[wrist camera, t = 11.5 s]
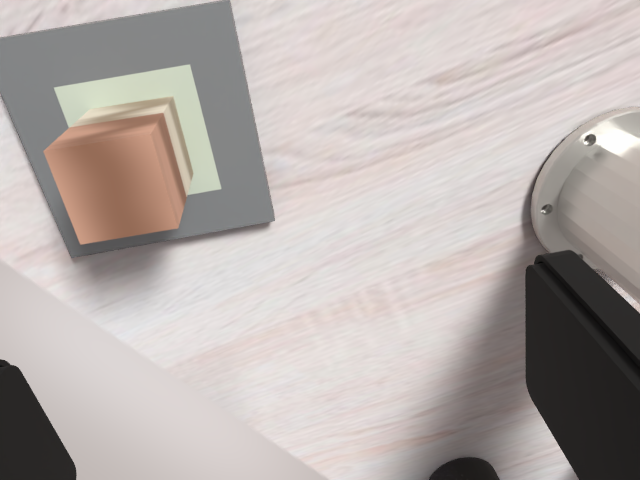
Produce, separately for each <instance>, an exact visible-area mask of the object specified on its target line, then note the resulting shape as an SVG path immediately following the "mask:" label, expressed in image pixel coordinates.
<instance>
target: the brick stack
mask: <svg viewBox="0 0 640 480" xmlns="http://www.w3.org/2000/svg"><path fill="white" fill-rule="evenodd" d="M43 152H44V154H45V157H46V159H47V162H48V164H49V167H50V169H51V172H52V174H53V177H54V180H55V182H56V185H57V187H58V190H59V192H60V195H61V197H62V200H63V202H64V205H65V207H66V210H67V212H68V215H69V217H70V220H71V222H72V225H73V227H74V230H75V232H76V235H77V237H78V240H79V242H80V245H81V244H87V243H93V242H99V241H105V240H111V239H117V238H123V237H129V236H135V235H141V234H147V233H153V232H159V231H165V230H171V229H177V228H179V224H180V220H181V217H182V213H183V210H184V206H185V202H186V199H187V195H188V192H189V188H190V184H191V181H192V177H193V174H194V173H193V169H192V166H191V162H190V158H189V154H188V150H187V146H186V143H185V139H184V135H183V131H182V127H181V123H180V120H179V116H178V112H177V108H176V104H175V100H174V97H173V96H170V97H163V98H157V99H151V100H144V101H138V102H132V103H125V104H119V105H112V106H106V107H100V108H93V109H89V110H88V111H87V112H86V113H85V114H84V115H83V116H82V117H81V118H79V119H78V120H77V121H76V122H75V123H74V124H73V125H72V126H71V127H69V128H68V129H67V130H66V131H65V132H64V133H63V134H62V135H61V136H59V137H58V138H57V139H56V140H55V141H54V142H53V143H52V144H51V145H49V146H48V147H47V148H46V149H45V150H44V151H43Z"/></svg>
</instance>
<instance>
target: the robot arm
mask: <svg viewBox="0 0 640 480" xmlns="http://www.w3.org/2000/svg"><path fill="white" fill-rule="evenodd" d="M530 211H531V220H532V225H533V228H534V231H535V234H536V236H537V238H538V239H539V241H540V242H541V244H542V245H543V247H544V248H545V249H546V250H547V251H548V252H549V254H544V255H538V256H537V257H536V259H535V261H534V265H529V266H528V267H527V268H526V384H527V388H528V392H529V394H530V397H531V399H532V401H533V402H534V404H535V406H536V407H537V409H538V411H539V412H540V414H541V416H542V418H543V419H544V421H545V423H546V424H547V426H548V428H549V429H550V431H551V433H552V434H553V436H554V438H555V439H556V441H557V443H558V445H559V446H560V448H561V450H562V451H563V453H564V455H565V456H566V458H567V460H568V461H569V463H570V465H571V466H572V468H573V470H574V472H575V473H576V475H577V477H578V478H579V480H640V313H639V312H638V311H637V310H635V309H634V308H633V307H632V306H631V305H630V304H629V303H628V302H627V301H626V300H625V299H624V298H623V297H622V296H621V295H620V294H619V293H617V292H616V291H615V290H614V289H613V288H612V287H611V286H610V285H609V284H608V283H607V282H606V281H605V280H604V279H603V278H602V277H601V276H599V275H598V274H597V273H596V272H595V271H594V269H600V270H602V271H603V272H604V273H605V274H606V275H607V276H608V277H609V278H611V279H612V280H613V281H614V282H615V283H616V284H617V285H619V286H620V287H621V288H622V289H623V290H624V291H625V292H626V293H628V294H629V295H630V296H631V297H632V298H633V299H634V300H636V301H637V302H638V303H639V304H640V107H629V108H623V109H618V110H614V111H611V112H608V113H605V114H603V115H600V116H598V117H596V118H594V119H592V120H590V121H589V122H587V123H585V124H583V125H582V126H580V127H579V128H578V129H576V130H575V131H574V132H573V133H571V134H570V135H569V136H567V137H566V139H565V140H564V141H563V142H562V143H561V144H560V145H559V146H558V147H557V148H556V149H555V150H554V151H553V153H552V154H551V156H550V157H549V158H548V160H547V161H546V163H545V164H544V166H543V168H542V170H541V172H540V174H539V176H538V178H537V180H536V183H535V187H534V190H533V194H532V200H531V210H530ZM0 480H76V468H75V465H74V462H73V461H72V459H71V457H70V455H69V454H68V452H67V450H66V449H65V447H64V445H63V443H62V442H61V440H60V438H59V436H58V435H57V433H56V431H55V429H54V428H53V426H52V424H51V423H50V421H49V419H48V417H47V416H46V414H45V412H44V411H43V409H42V407H41V405H40V403H39V402H38V400H37V398H36V397H35V395H34V393H33V391H32V390H31V388H30V386H29V384H28V383H27V381H26V379H25V378H24V376H23V374H22V372H21V371H20V369H19V368H18V367H16V366H14V365H10V364H9V363H8V362H7V361H5V360H0Z"/></svg>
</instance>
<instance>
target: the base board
mask: <svg viewBox="0 0 640 480" xmlns="http://www.w3.org/2000/svg"><path fill="white" fill-rule="evenodd" d="M0 93H1V95H2V97H3V100H4V102H5V104H6V107H7V109H8V111H9V114H10V116H11V118H12V121H13V123H14V125H15V128H16V130H17V132H18V135H19V137H20V139H21V141H22V144H23V146H24V148H25V151H26V153H27V155H28V158H29V160H30V162H31V165H32V167H33V169H34V172H35V174H36V176H37V179H38V181H39V183H40V186H41V188H42V190H43V193H44V195H45V197H46V200H47V202H48V204H49V207H50V209H51V211H52V214H53V216H54V218H55V220H56V223H57V225H58V227H59V230H60V232H61V234H62V237H63V239H64V241H65V244H66V246H67V248H68V251H69V253H70V255H71V258H74V257H80V256H85V255H91V254H96V253H102V252H107V251H113V250H118V249H124V248H129V247H135V246H140V245H146V244H151V243H157V242H162V241H168V240H173V239H179V238H184V237H190V236H195V235H201V234H206V233H212V232H217V231H223V230H228V229H234V228H239V227H245V226H250V225H256V224H261V223H267V222H272V221H275V218H274V211H273V206H272V201H271V196H270V191H269V187H268V182H267V177H266V172H265V167H264V162H263V158H262V153H261V148H260V143H259V138H258V133H257V129H256V124H255V119H254V114H253V109H252V104H251V100H250V95H249V90H248V85H247V80H246V75H245V71H244V66H243V61H242V56H241V51H240V47H239V42H238V37H237V32H236V27H235V22H234V18H233V13H232V8H231V3H230V0H222V1H216V2H210V3H204V4H198V5H192V6H186V7H180V8H174V9H168V10H162V11H156V12H150V13H144V14H138V15H132V16H126V17H120V18H114V19H108V20H102V21H96V22H90V23H84V24H78V25H73V26H67V27H61V28H55V29H49V30H43V31H37V32H31V33H25V34H19V35H13V36H7V37H1V38H0ZM170 96H173V97H174V100H175V104H176V108H177V112H178V116H179V120H180V123H181V127H182V131H183V135H184V139H185V143H186V146H187V150H188V154H189V158H190V162H191V166H192V169H193V173H194V174H193V177H192V181H191V184H190V188H189V192H188V195H187V199H186V202H185V206H184V210H183V213H182V217H181V220H180V224H179V228H177V229H171V230H165V231H159V232H153V233H147V234H141V235H135V236H129V237H123V238H117V239H111V240H105V241H99V242H93V243H87V244H81V245H80V242H79V240H78V237H77V235H76V232H75V230H74V227H73V225H72V222H71V220H70V217H69V215H68V212H67V210H66V207H65V205H64V202H63V200H62V197H61V195H60V192H59V190H58V187H57V185H56V182H55V180H54V177H53V174H52V172H51V169H50V167H49V164H48V162H47V159H46V157H45V154H44V152H43V151H44V150H45V149H46V148H47V147H48V146H49V145H51V144H52V143H53V142H54V141H55V140H56V139H57V138H58V137H59V136H61V135H62V134H63V133H64V132H65V131H66V130H67V129H68V128H69V127H71V126H72V125H73V124H74V123H75V122H76V121H77V120H78V119H79V118H81V117H82V116H83V115H84V114H85V113H86V112H87V111H88V110H89V109H93V108H100V107H106V106H112V105H119V104H125V103H132V102H138V101H144V100H151V99H157V98H163V97H170Z"/></svg>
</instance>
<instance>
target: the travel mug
mask: <svg viewBox="0 0 640 480" xmlns="http://www.w3.org/2000/svg"><path fill="white" fill-rule="evenodd" d="M429 480H500V479H499V477H498V476H497V474H496V472H495V470H494V469H493V467H492V466H491V465H490V464H489V463H488V462H486V461H484V460H482V459H479V458H461V459H457V460H453V461H451V462H448V463H446V464H444V465H443V466H441V467H440V468H439V469H437V470H436V471H435V472H434V473H433V474H432V476H431V477H430V479H429Z"/></svg>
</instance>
